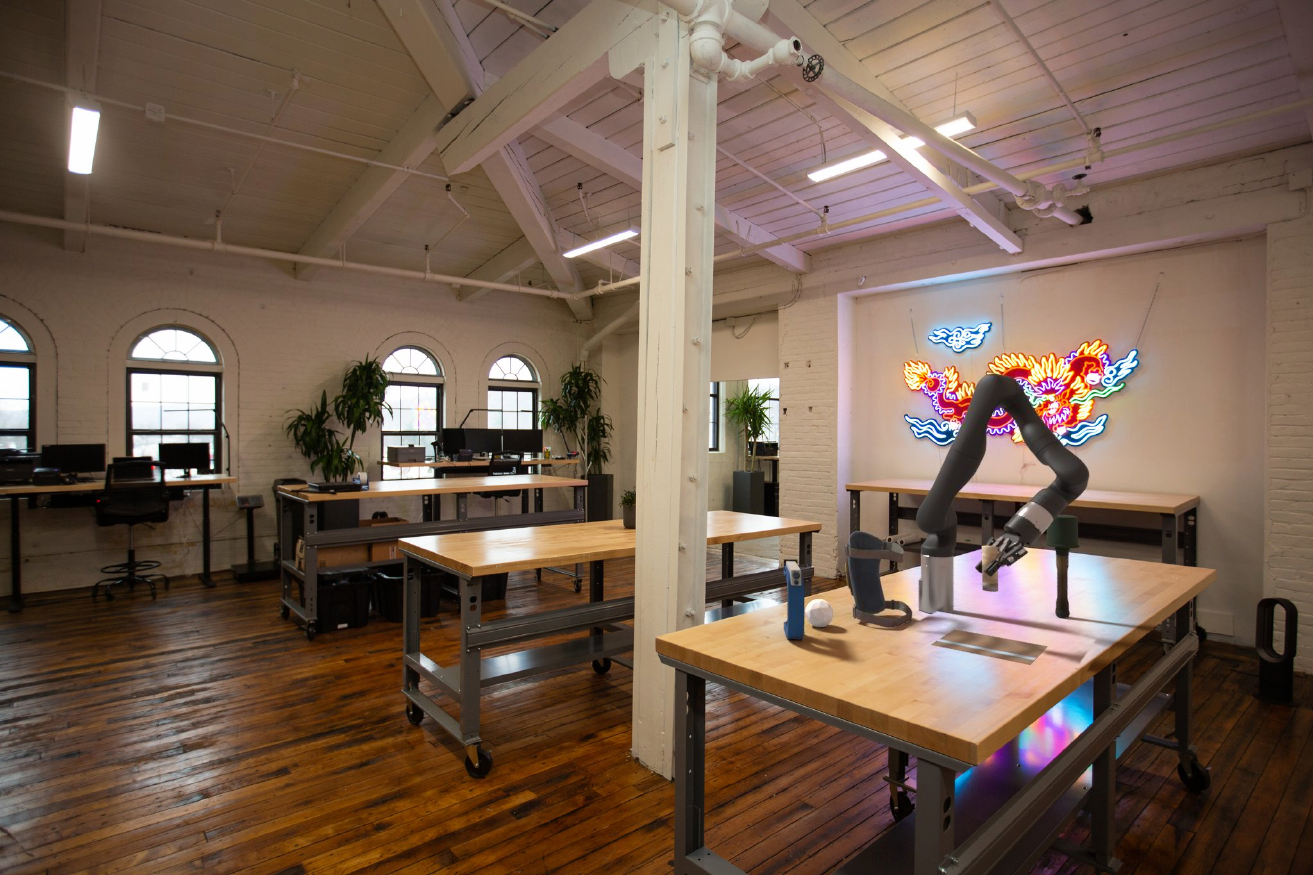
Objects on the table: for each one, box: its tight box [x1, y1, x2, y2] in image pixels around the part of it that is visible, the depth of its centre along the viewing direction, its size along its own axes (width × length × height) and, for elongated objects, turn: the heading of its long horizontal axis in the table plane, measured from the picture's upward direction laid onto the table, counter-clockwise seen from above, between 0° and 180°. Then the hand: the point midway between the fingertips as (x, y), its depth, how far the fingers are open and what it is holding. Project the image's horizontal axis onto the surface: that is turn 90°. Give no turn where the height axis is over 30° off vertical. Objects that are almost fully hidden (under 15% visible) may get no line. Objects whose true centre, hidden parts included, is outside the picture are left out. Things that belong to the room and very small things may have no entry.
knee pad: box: [843, 530, 913, 629], centre depth 193 cm, size 18×20×25 cm
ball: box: [805, 598, 835, 628], centre depth 185 cm, size 8×8×8 cm
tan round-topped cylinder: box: [981, 545, 999, 593], centre depth 167 cm, size 4×4×11 cm
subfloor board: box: [930, 628, 1048, 666], centre depth 163 cm, size 22×18×2 cm
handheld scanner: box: [783, 558, 806, 640], centre depth 176 cm, size 4×16×19 cm, turn 174°
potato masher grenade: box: [1045, 514, 1080, 619], centre depth 195 cm, size 8×9×30 cm
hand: (982, 572), depth 167 cm, fingers closed on tan round-topped cylinder, 3 cm apart
